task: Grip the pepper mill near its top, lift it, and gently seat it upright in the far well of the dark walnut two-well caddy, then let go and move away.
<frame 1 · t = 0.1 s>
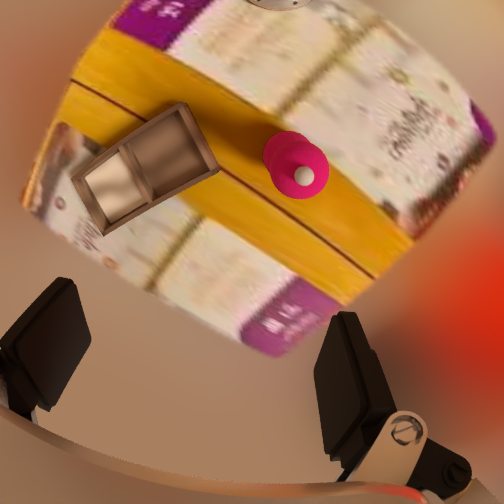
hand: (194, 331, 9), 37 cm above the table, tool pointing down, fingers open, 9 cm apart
caddy: (143, 170, 43), on the table
pepper mill: (286, 152, 42), on the table
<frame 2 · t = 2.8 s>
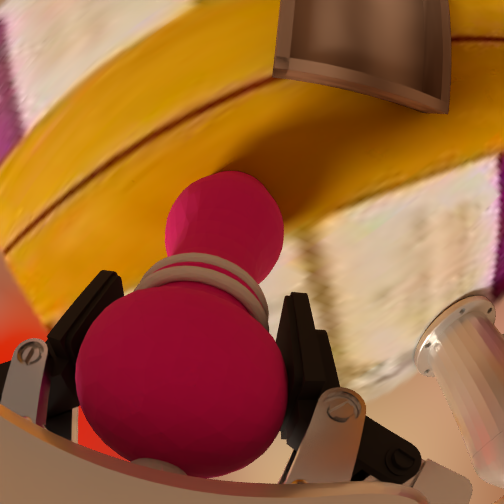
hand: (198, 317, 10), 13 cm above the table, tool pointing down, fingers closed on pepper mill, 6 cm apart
pepper mill: (231, 210, 22), on the table, touching gripper
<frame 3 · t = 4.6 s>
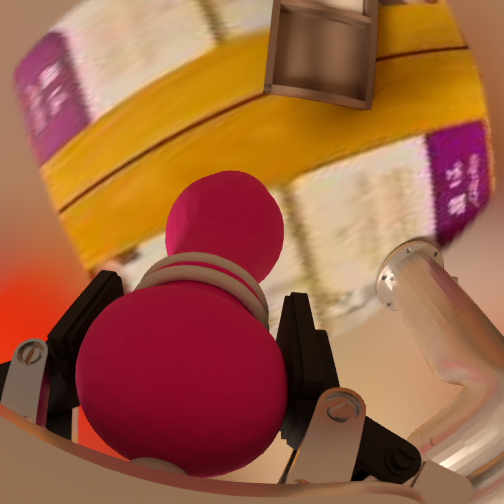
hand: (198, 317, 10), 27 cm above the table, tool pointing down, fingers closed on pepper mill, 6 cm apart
caddy: (321, 18, 24), on the table
pepper mill: (232, 209, 22), point 14 cm above the table, touching gripper
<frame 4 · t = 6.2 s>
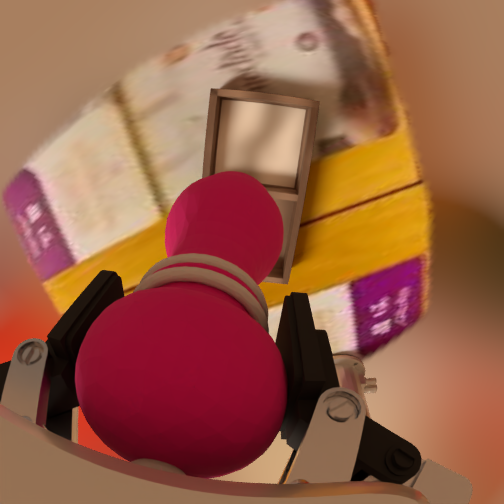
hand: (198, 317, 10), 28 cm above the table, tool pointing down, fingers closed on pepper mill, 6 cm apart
caddy: (253, 186, 36), on the table
pepper mill: (231, 210, 22), point 15 cm above the table, touching gripper
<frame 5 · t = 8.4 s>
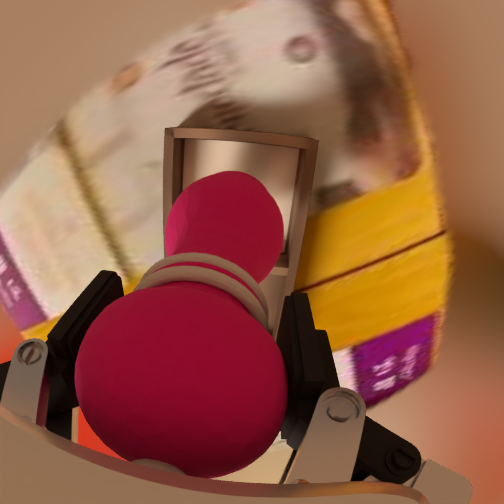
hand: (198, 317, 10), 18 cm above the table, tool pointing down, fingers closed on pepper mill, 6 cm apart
caddy: (233, 249, 29), on the table
pepper mill: (232, 209, 21), point 5 cm above the table, touching gripper
when the fingers open (15 cm above the table, at t = 9.8 s): pepper mill drops 2 cm, resting on caddy.
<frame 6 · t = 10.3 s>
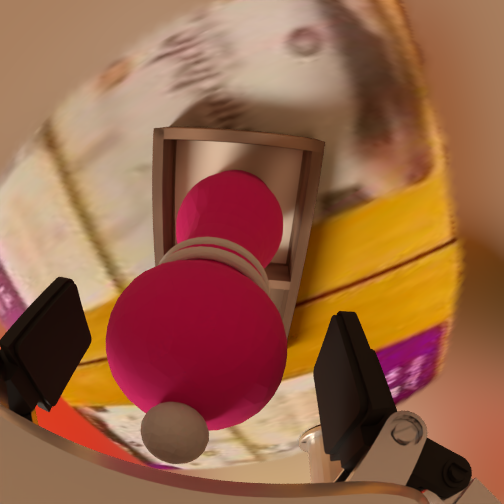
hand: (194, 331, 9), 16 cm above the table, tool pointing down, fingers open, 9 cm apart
caddy: (230, 259, 26), on the table
pepper mill: (235, 206, 23), point 1 cm above the table, touching caddy
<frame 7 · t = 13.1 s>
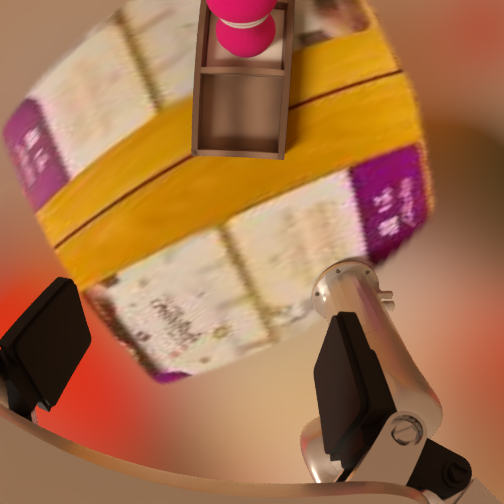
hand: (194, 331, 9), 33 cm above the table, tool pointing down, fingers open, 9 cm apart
caddy: (243, 74, 33), on the table
pepper mill: (246, 38, 30), point 1 cm above the table, touching caddy
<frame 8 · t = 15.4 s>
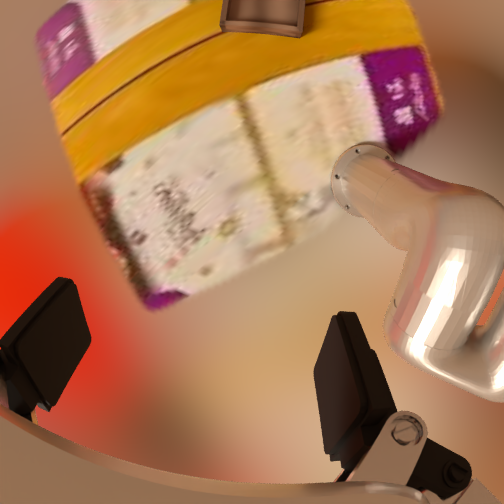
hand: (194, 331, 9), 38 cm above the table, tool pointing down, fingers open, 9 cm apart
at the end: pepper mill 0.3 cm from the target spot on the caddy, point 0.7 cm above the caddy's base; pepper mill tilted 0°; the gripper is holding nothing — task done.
